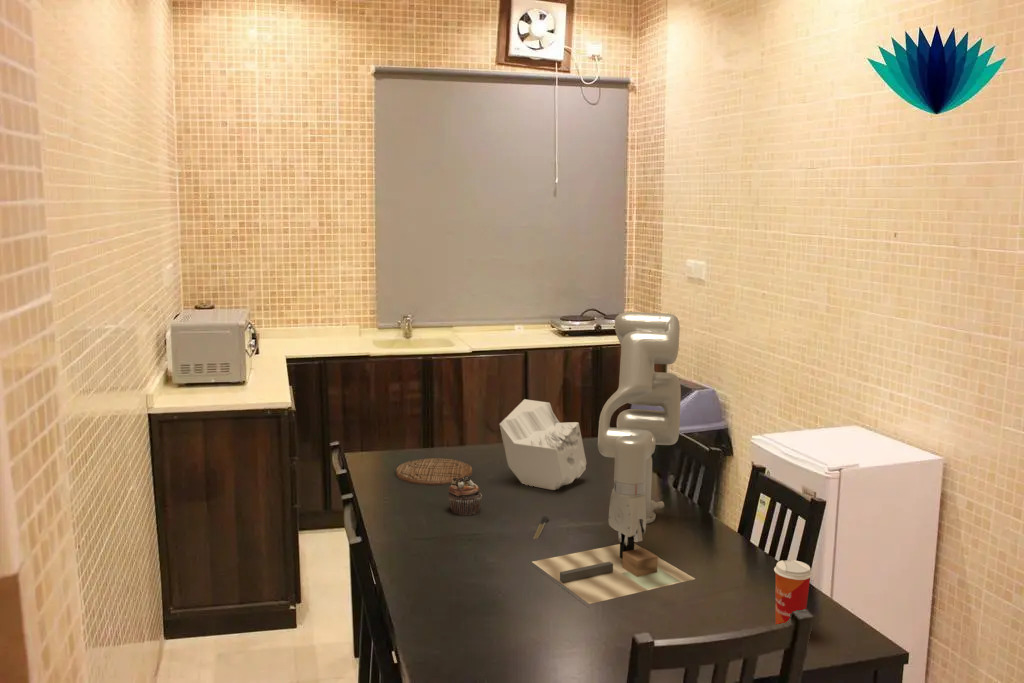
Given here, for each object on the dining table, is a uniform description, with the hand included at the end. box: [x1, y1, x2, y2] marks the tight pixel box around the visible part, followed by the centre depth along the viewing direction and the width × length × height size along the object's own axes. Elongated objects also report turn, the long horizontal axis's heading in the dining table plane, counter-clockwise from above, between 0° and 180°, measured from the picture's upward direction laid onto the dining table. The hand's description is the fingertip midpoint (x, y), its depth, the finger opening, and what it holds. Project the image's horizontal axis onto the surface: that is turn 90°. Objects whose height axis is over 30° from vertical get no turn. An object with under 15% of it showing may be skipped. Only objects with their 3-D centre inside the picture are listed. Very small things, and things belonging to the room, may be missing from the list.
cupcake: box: [448, 476, 483, 516], centre depth 255 cm, size 10×10×10 cm
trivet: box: [396, 457, 473, 486], centre depth 291 cm, size 25×25×2 cm
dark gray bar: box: [560, 562, 613, 583], centre depth 209 cm, size 14×2×2 cm, turn 118°
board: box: [532, 543, 696, 609], centre depth 213 cm, size 30×26×1 cm
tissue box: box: [498, 398, 588, 491], centre depth 279 cm, size 20×16×25 cm
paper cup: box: [773, 559, 813, 625], centre depth 186 cm, size 8×8×14 cm
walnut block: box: [622, 547, 659, 577], centre depth 213 cm, size 6×6×4 cm
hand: (626, 558), depth 218 cm, fingers closed
